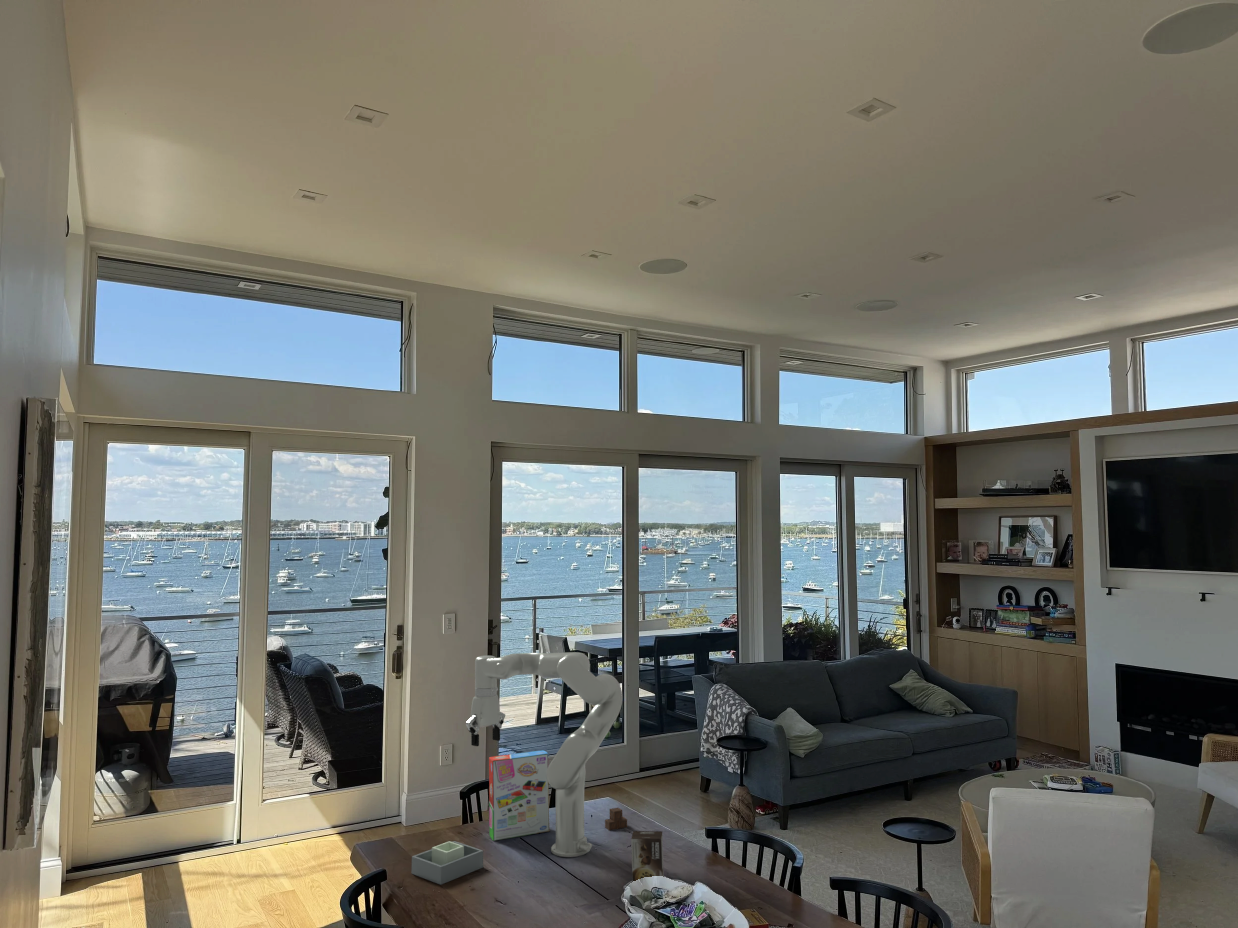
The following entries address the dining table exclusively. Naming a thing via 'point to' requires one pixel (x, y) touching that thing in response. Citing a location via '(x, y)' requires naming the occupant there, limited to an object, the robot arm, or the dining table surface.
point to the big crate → (447, 865)
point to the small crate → (447, 853)
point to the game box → (518, 795)
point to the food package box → (647, 854)
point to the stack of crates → (615, 820)
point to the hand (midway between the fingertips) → (485, 742)
